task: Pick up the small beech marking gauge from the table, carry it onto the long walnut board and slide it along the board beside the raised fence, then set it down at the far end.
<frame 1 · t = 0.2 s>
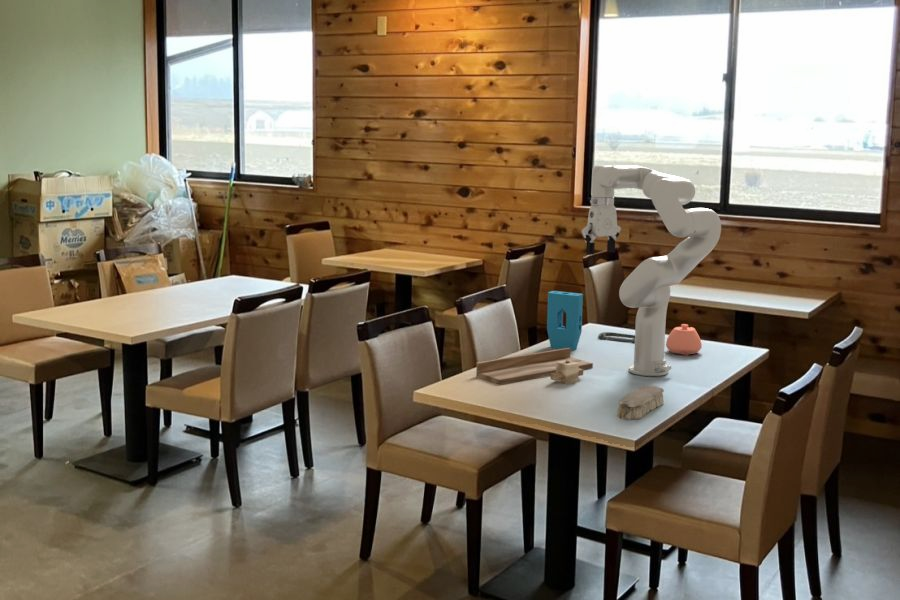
hand: (600, 253, 331), 36 cm above the table, tool pointing down, fingers open, 9 cm apart
c clamp: (621, 342, 367), on the table
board: (535, 372, 317), on the table
sugar bowl: (684, 352, 347), on the table
beige mottled oblong part: (640, 411, 276), on the table
block: (563, 348, 352), on the table
gauge: (566, 381, 306), on the table
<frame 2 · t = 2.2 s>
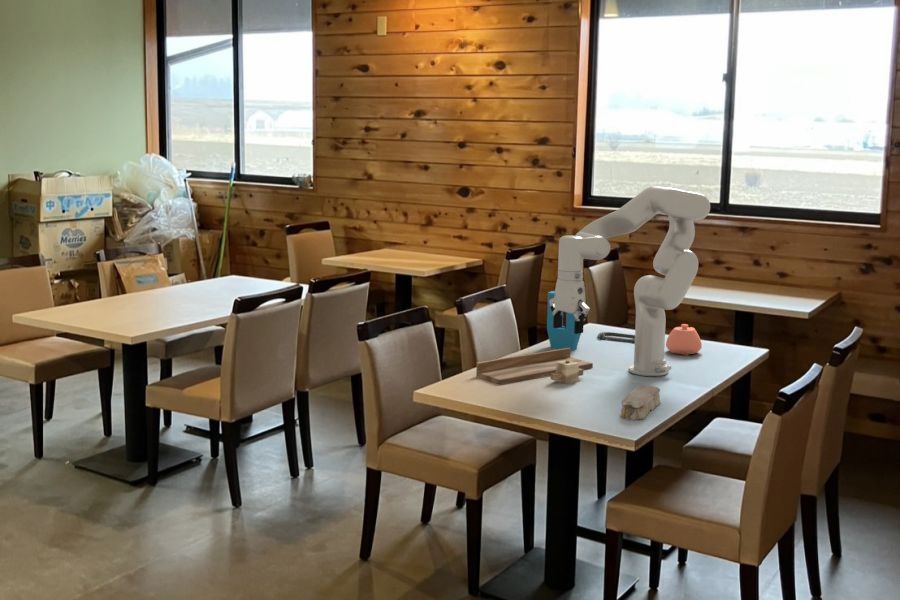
hand: (568, 330, 304), 16 cm above the table, tool pointing down, fingers open, 9 cm apart
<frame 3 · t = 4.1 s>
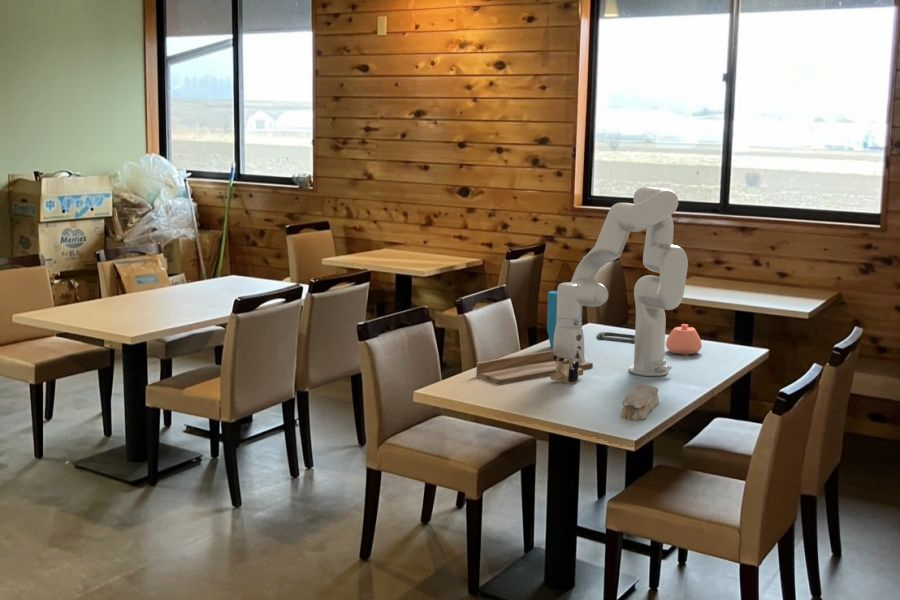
hand: (566, 378, 306), 1 cm above the table, tool pointing down, fingers closed on gauge, 5 cm apart
gauge: (566, 381, 306), on the table, touching gripper
everything else where it was.
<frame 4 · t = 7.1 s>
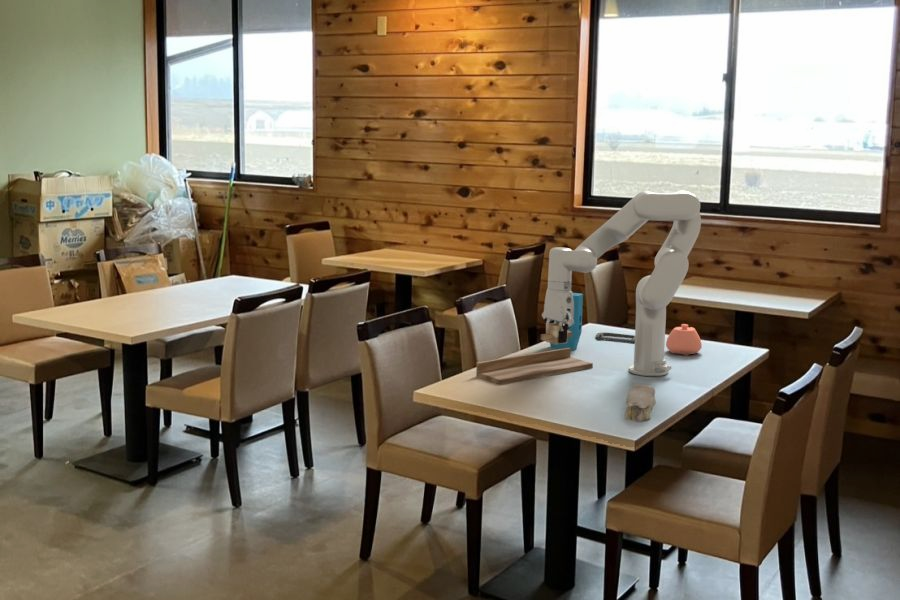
hand: (556, 340, 319), 10 cm above the table, tool pointing down, fingers closed on gauge, 5 cm apart
gauge: (556, 342, 319), point 9 cm above the table, touching gripper
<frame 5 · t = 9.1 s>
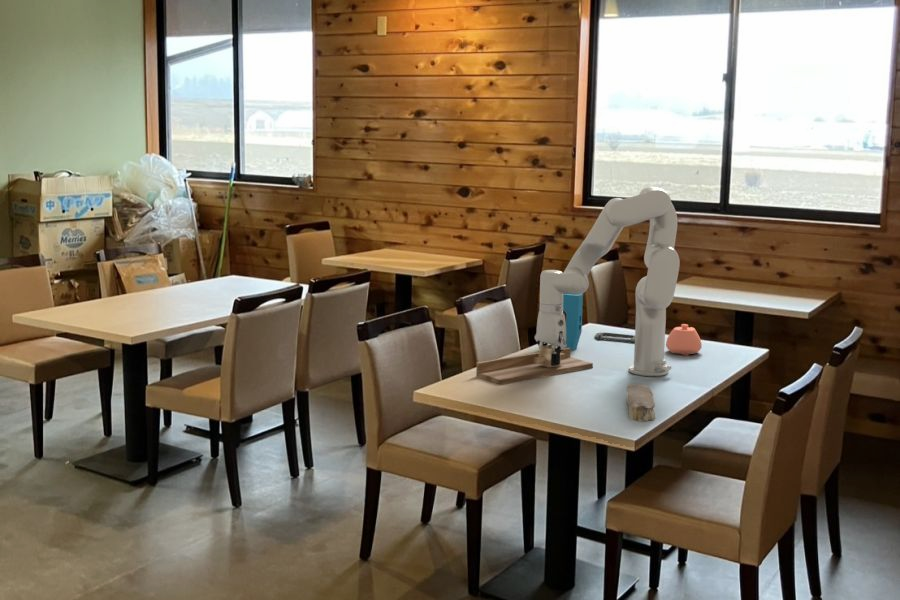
hand: (549, 362, 318), 3 cm above the table, tool pointing down, fingers closed on gauge, 5 cm apart
gauge: (549, 365, 318), point 2 cm above the table, touching gripper
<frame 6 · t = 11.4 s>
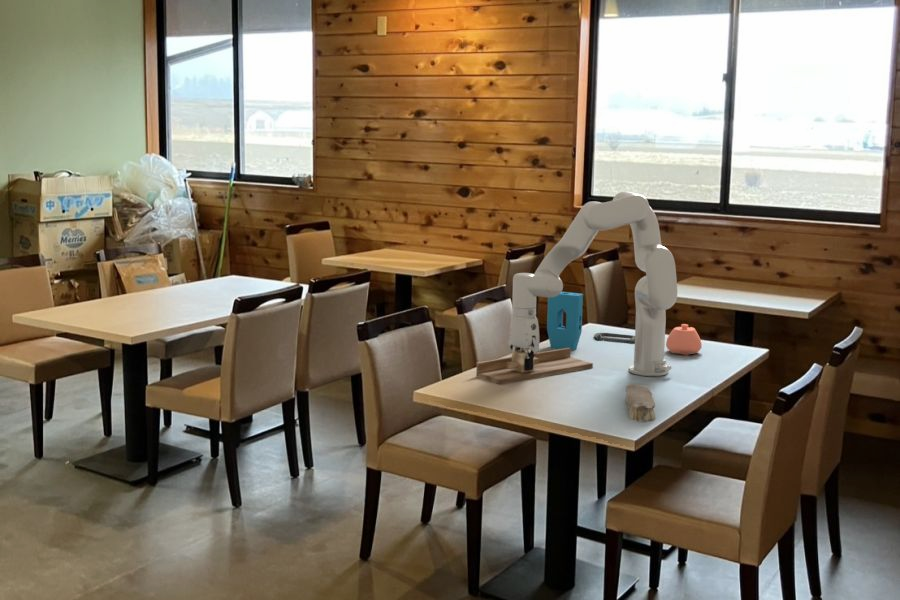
hand: (522, 367, 312), 3 cm above the table, tool pointing down, fingers closed on gauge, 5 cm apart
gauge: (522, 369, 312), point 2 cm above the table, touching gripper
when the fingers open (2 cm above the table, at t = 12.7 s): gauge stays where it is, resting on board.
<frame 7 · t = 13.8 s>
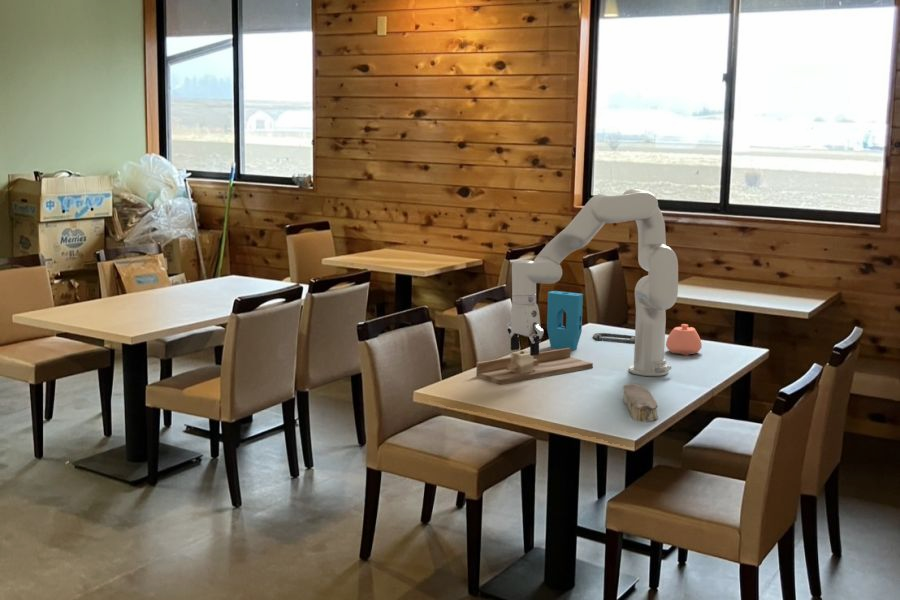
hand: (524, 352, 311), 8 cm above the table, tool pointing down, fingers open, 9 cm apart
gauge: (522, 371, 312), point 2 cm above the table, touching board
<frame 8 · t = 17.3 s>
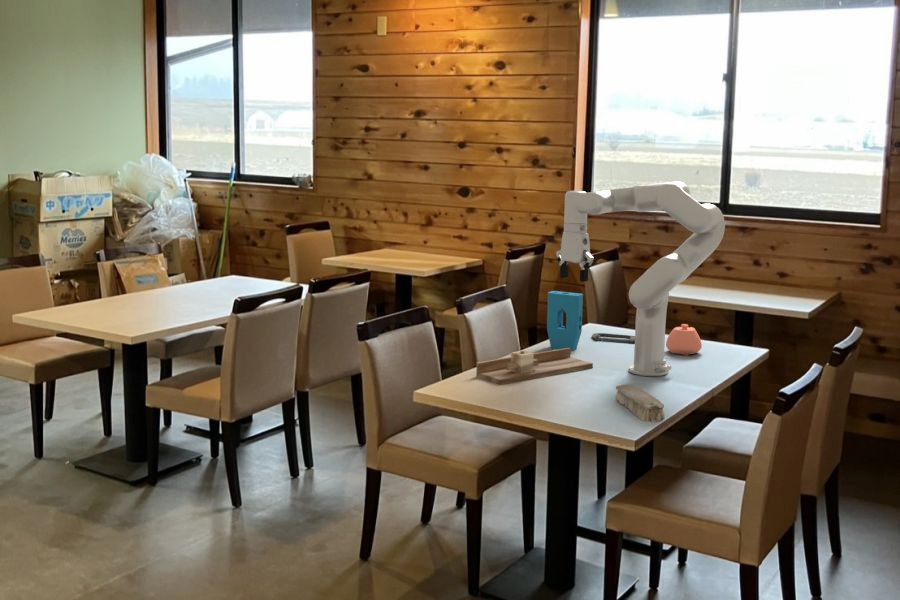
hand: (573, 279, 326), 28 cm above the table, tool pointing down, fingers open, 9 cm apart
at the end: gauge inside the target area (0.8 cm from its centre), point 1.5 cm above the table; gauge tilted 0°; the gripper is holding nothing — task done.
